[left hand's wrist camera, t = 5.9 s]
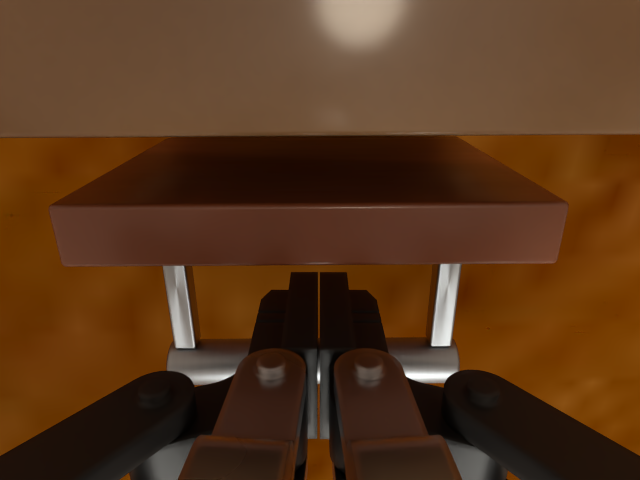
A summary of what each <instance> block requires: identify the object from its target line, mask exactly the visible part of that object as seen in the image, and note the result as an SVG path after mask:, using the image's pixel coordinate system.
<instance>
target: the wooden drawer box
mask: <svg viewBox="0 0 640 480" xmlns="http://www.w3.org/2000/svg"><path fill="white" fill-rule="evenodd" d="M615 134H640V0H0V138H61V137H246V136H431V135H615Z"/></svg>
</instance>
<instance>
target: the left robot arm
mask: <svg viewBox="0 0 640 480" xmlns="http://www.w3.org/2000/svg"><path fill="white" fill-rule="evenodd" d="M317 379H318V272H291V277H290V284H289V290H271V291H270V292H269V293H268V294H267V295H266V296H265V297H264V298H262V299H261V303H260V307H259V311H258V315H257V319H256V323H255V327H254V331H253V336H252V340H251V344H250V348H249V352H248V356H246V357H245V358H244V359H243V360H242V361H241V362H240V363H239V365H238V367H237V370H236V372H235V374H233V375H232V376H230V377H228V378H226V379H224V380H221V381H219V382H215V383H211V384H207V385H203V386H198V387H194V384H193V381H192V380H191V379H190V378H189V377H188V376H187V375H185V374H183V373H180V372H176V371H158V372H153V373H150V374H146V375H144V376H141V377H139V378H137V379H135V380H133V381H132V382H130V383H128V384H126V385H124V386H123V387H121V388H119V389H117V390H116V391H114V392H112V393H110V394H109V395H107V396H105V397H103V398H102V399H100V400H98V401H96V402H95V403H93V404H91V405H89V406H88V407H86V408H84V409H82V410H81V411H79V412H77V413H75V414H73V415H72V416H70V417H68V418H66V419H65V420H63V421H61V422H59V423H58V424H56V425H54V426H52V427H51V428H49V429H47V430H45V431H44V432H42V433H40V434H38V435H37V436H35V437H33V438H31V439H29V440H28V441H26V442H24V443H22V444H21V445H19V446H17V447H15V448H14V449H12V450H10V451H8V452H7V453H5V454H3V455H1V456H0V480H119V479H121V478H122V477H123V476H125V475H126V474H128V473H129V474H130V478H131V480H307V443H308V439H317ZM320 439H329V447H330V457H331V460H332V462H333V480H507V479H506V476H507V472H508V471H510V472H511V473H512V474H514V475H515V476H517V477H518V478H519V479H521V480H640V456H639V455H637V454H635V453H633V452H632V451H630V450H628V449H626V448H625V447H623V446H621V445H619V444H618V443H616V442H614V441H612V440H611V439H609V438H607V437H605V436H603V435H602V434H600V433H598V432H596V431H595V430H593V429H591V428H589V427H588V426H586V425H584V424H582V423H581V422H579V421H577V420H575V419H574V418H572V417H570V416H568V415H567V414H565V413H563V412H561V411H559V410H558V409H556V408H554V407H552V406H551V405H549V404H547V403H545V402H544V401H542V400H540V399H538V398H537V397H535V396H533V395H531V394H530V393H528V392H526V391H524V390H523V389H521V388H519V387H517V386H515V385H514V384H512V383H510V382H508V381H507V380H505V379H503V378H501V377H499V376H497V375H495V374H492V373H489V372H485V371H480V370H463V371H459V372H456V373H454V374H452V375H450V376H449V377H448V378H447V379H446V381H445V384H444V388H442V387H438V386H433V385H429V384H425V383H421V382H418V381H415V380H412V379H410V378H408V377H406V375H405V372H404V370H403V367H402V365H401V363H400V362H399V361H398V360H397V359H396V358H395V357H393V356H392V355H390V354H389V352H388V348H387V343H386V339H385V335H384V330H383V326H382V323H381V318H380V313H379V309H378V305H377V300H376V299H375V298H374V297H373V296H372V295H371V294H370V293H369V292H368V291H367V290H349V288H348V280H347V273H346V272H320Z"/></svg>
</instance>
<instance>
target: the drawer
mask: <svg viewBox="0 0 640 480" xmlns="http://www.w3.org/2000/svg"><path fill="white" fill-rule="evenodd" d="M567 212H568V203H567V202H566V201H564V200H563V199H561V198H559V197H558V196H556V195H554V194H553V193H551V192H549V191H548V190H546V189H544V188H542V187H541V186H539V185H537V184H536V183H534V182H532V181H531V180H529V179H527V178H526V177H524V176H522V175H521V174H519V173H517V172H515V171H514V170H512V169H510V168H509V167H507V166H505V165H504V164H502V163H500V162H499V161H497V160H495V159H494V158H492V157H490V156H488V155H487V154H485V153H483V152H482V151H480V150H478V149H477V148H475V147H473V146H472V145H470V144H468V143H467V142H465V141H463V140H461V139H460V138H458V137H456V136H444V137H259V138H168V139H166V140H164V141H162V142H160V143H159V144H157V145H155V146H153V147H152V148H150V149H148V150H146V151H145V152H143V153H141V154H139V155H138V156H136V157H134V158H132V159H131V160H129V161H127V162H125V163H124V164H122V165H120V166H118V167H117V168H115V169H113V170H111V171H109V172H108V173H106V174H104V175H102V176H101V177H99V178H97V179H95V180H94V181H92V182H90V183H88V184H87V185H85V186H83V187H81V188H80V189H78V190H76V191H74V192H73V193H71V194H69V195H67V196H65V197H64V198H62V199H60V200H58V201H57V202H55V203H53V204H51V205H50V206H49V214H50V218H51V222H52V226H53V230H54V234H55V238H56V242H57V246H58V250H59V255H60V259H61V263H62V264H63V266H66V267H70V266H163V273H164V280H165V286H166V293H167V299H168V306H169V313H170V319H171V326H172V333H173V339H174V341H173V342H172V343H171V345H170V348H169V351H168V356H167V371H176V372H180V373H183V374H185V375H187V376H188V377H189V378H190V379H191V380H192V381H193V384H194V385H207V384H211V383H215V382H219V381H221V380H224V379H226V378H228V377H230V376H232V375H233V374H235V372H236V370H237V367H238V365H239V363H240V362H241V361H242V360H243V359H244V358H245V357H246V356H248V352H249V348H250V344H251V340H252V339H200V337H201V335H200V327H199V319H198V311H197V302H196V294H195V286H194V278H193V270H192V266H217V265H365V264H433V266H432V276H431V286H430V296H429V306H428V316H427V326H426V337H415V338H385V339H386V343H387V348H388V352H389V354H390V355H392V356H393V357H395V358H396V359H397V360H398V361H399V362H400V363H401V365H402V367H403V370H404V372H405V375H406V377H408V378H410V379H412V380H415V381H418V382H421V383H445V381H446V379H447V378H448V377H449V376H450V375H452V374H454V373H456V372H459V368H460V362H459V353H458V349H457V346H456V343H455V341H454V339H452V336H453V328H454V320H455V312H456V304H457V296H458V288H459V280H460V272H461V264H513V263H555V262H556V261H557V258H558V254H559V249H560V244H561V240H562V235H563V230H564V226H565V221H566V216H567ZM317 384H320V338H318V379H317Z"/></svg>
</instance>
